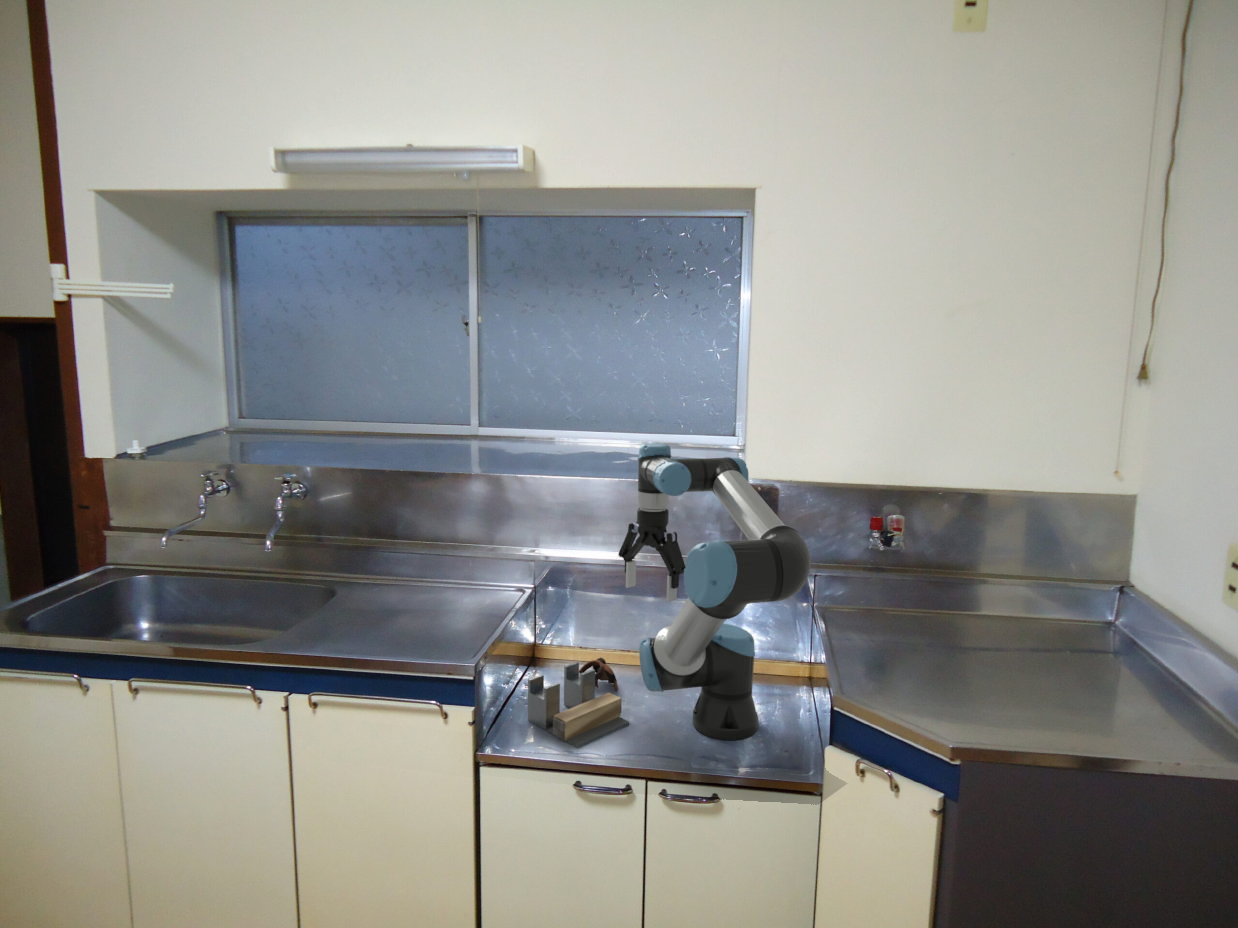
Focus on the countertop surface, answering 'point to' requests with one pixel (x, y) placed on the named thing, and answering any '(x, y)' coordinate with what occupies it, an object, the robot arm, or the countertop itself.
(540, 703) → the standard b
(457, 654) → the countertop surface
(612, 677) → the pottery mug
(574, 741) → the mat
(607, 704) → the oak rail
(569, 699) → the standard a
